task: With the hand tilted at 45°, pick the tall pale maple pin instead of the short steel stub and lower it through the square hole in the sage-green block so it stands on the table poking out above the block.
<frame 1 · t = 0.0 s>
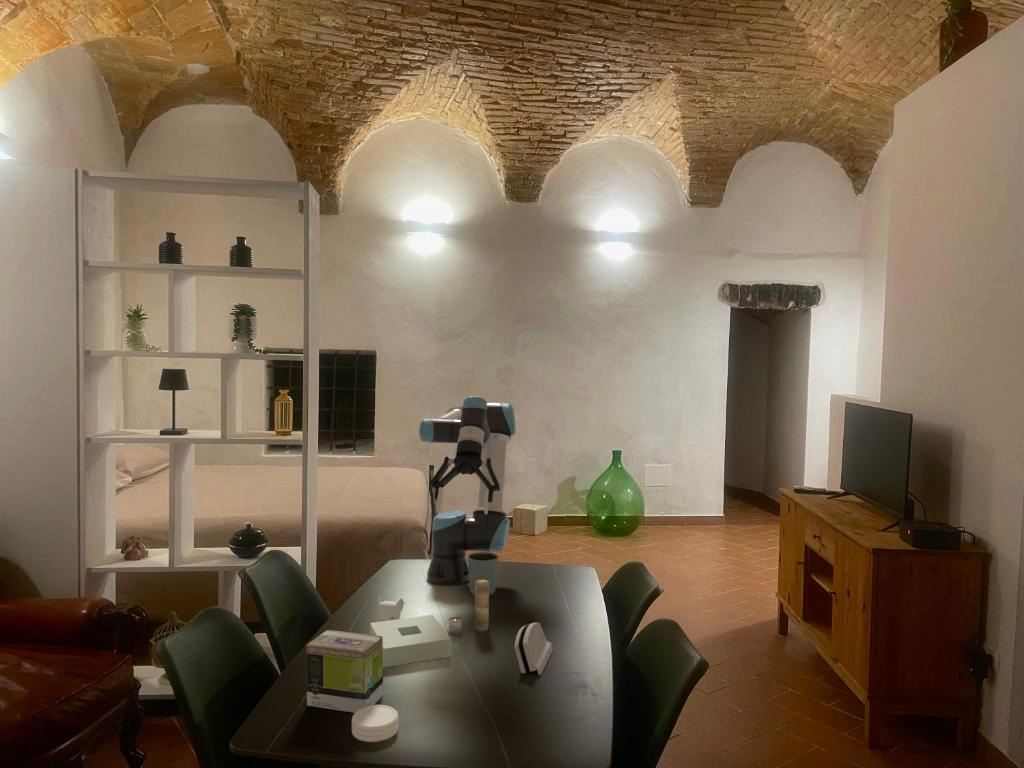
hand: (461, 511, 208), 36 cm above the table, tool tilted 35°, fingers open, 13 cm apart
grey blue cup: (482, 591, 248), on the table
tea box: (345, 702, 173), on the table
magnetic window cleaner: (533, 661, 196), on the table
elephant figurine: (389, 622, 221), on the table
coaster: (375, 731, 160), on the table
sage block: (409, 648, 202), on the table
maple pin: (481, 629, 216), on the table
steel stub: (455, 632, 213), on the table
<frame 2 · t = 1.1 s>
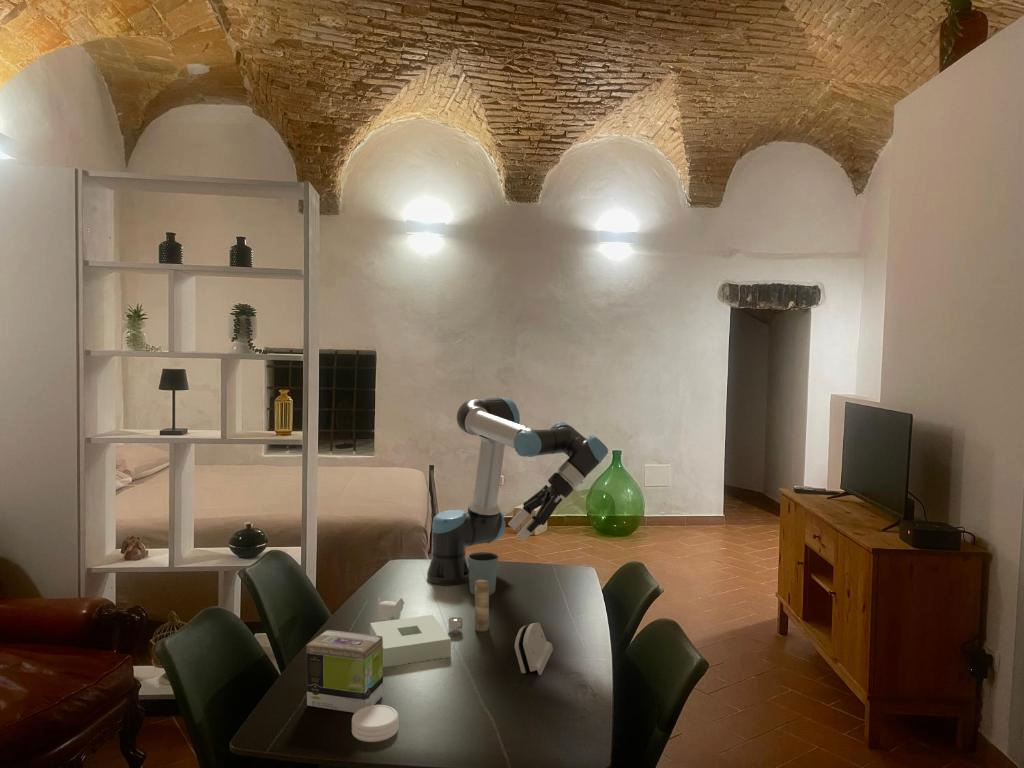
hand: (515, 532, 216), 28 cm above the table, tool tilted 45°, fingers open, 13 cm apart
nothing on the table moved.
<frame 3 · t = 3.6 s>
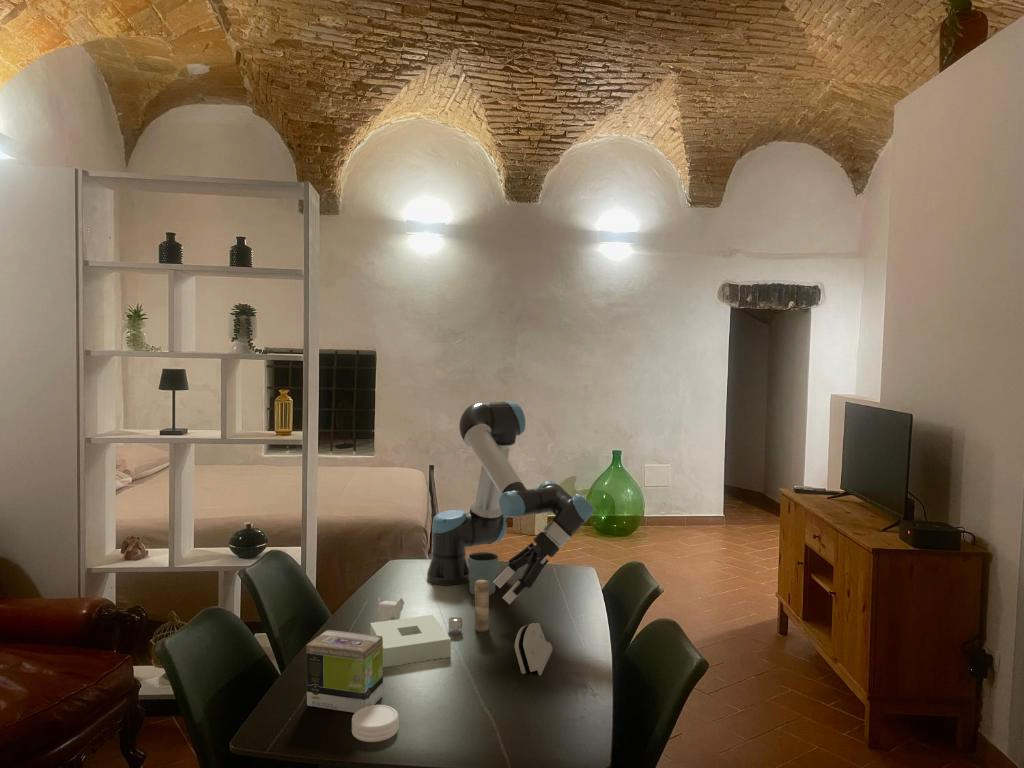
hand: (500, 592, 215), 11 cm above the table, tool tilted 45°, fingers open, 13 cm apart
nothing on the table moved.
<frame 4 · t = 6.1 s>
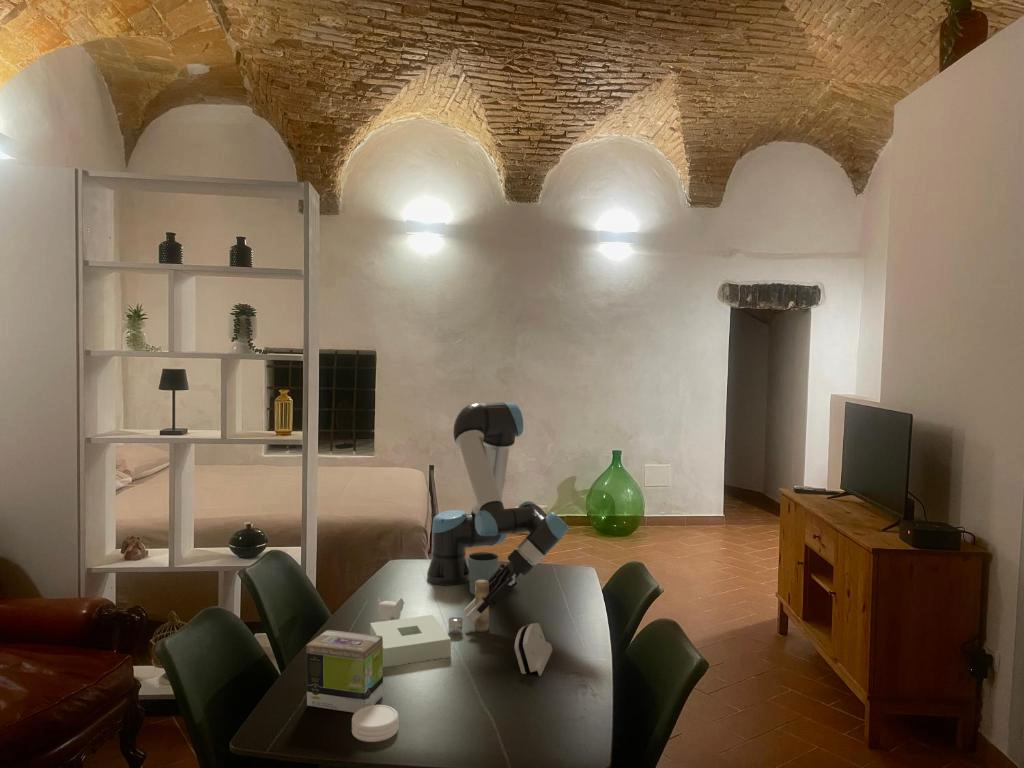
hand: (468, 615, 215), 4 cm above the table, tool tilted 45°, fingers closed on maple pin, 4 cm apart
maple pin: (481, 629, 216), on the table, touching gripper
everything else where it was.
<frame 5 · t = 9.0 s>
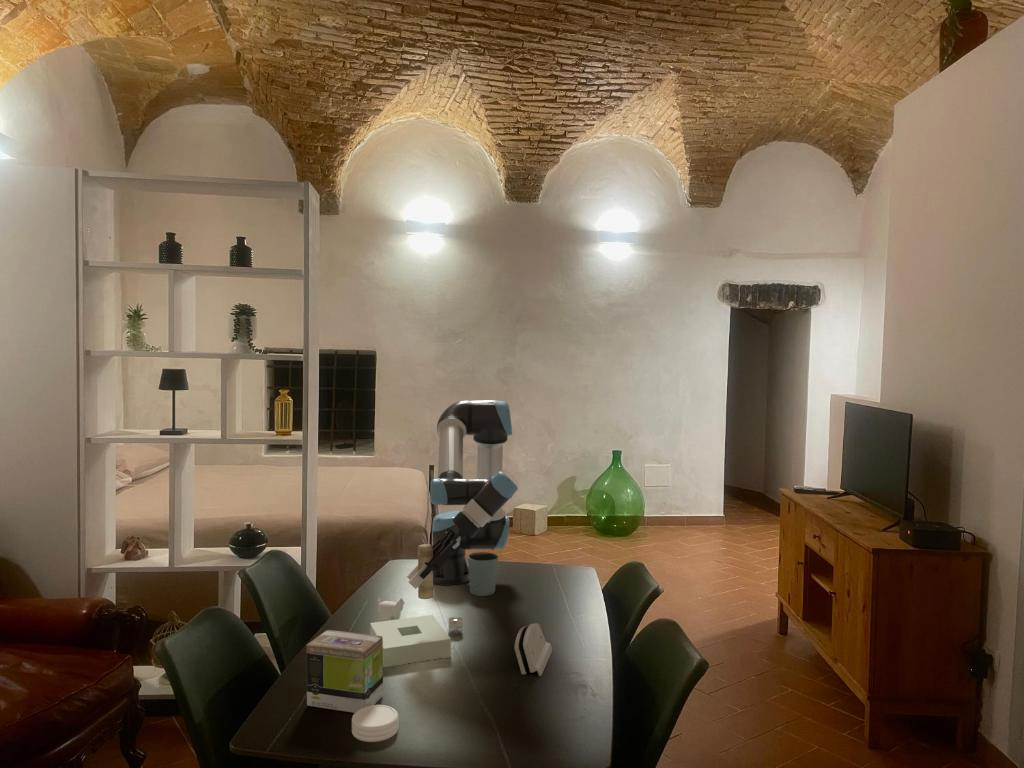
hand: (411, 582, 201), 18 cm above the table, tool tilted 45°, fingers closed on maple pin, 4 cm apart
maple pin: (425, 596, 202), point 14 cm above the table, touching gripper
everything else where it was.
when the fingers open (7 cm above the table, at t = 12.2 s): maple pin drops 3 cm, resting in sage block.
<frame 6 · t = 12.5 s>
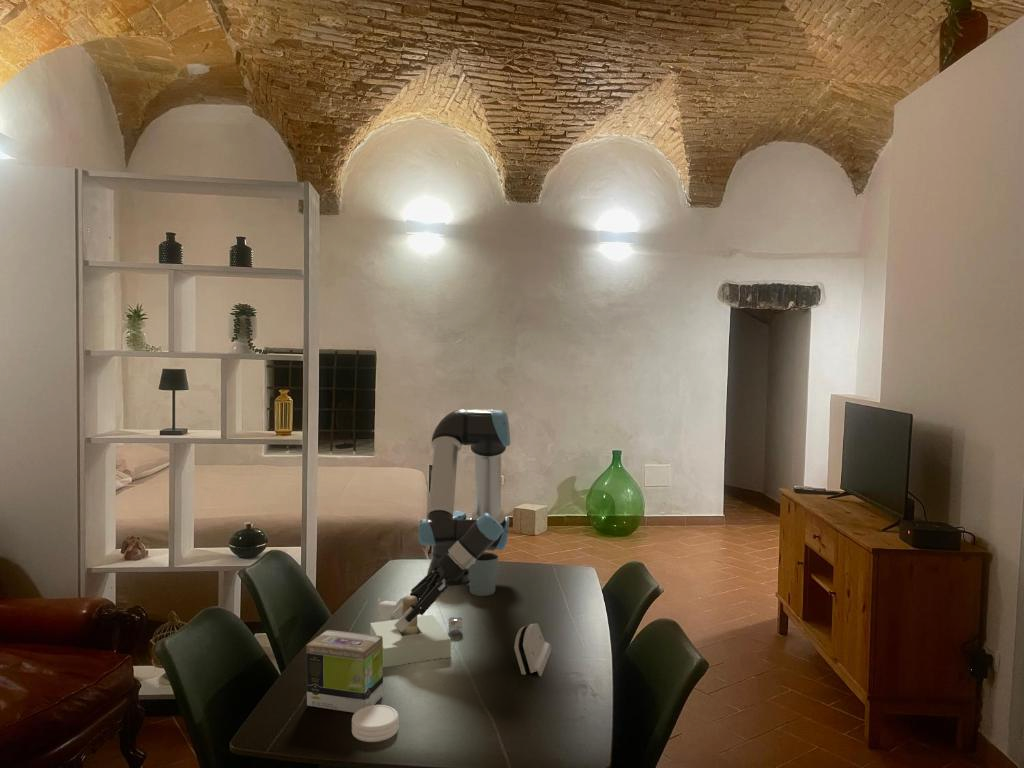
hand: (397, 622, 200), 8 cm above the table, tool tilted 45°, fingers open, 8 cm apart
maple pin: (409, 648, 202), resting in sage block
everything else where it was.
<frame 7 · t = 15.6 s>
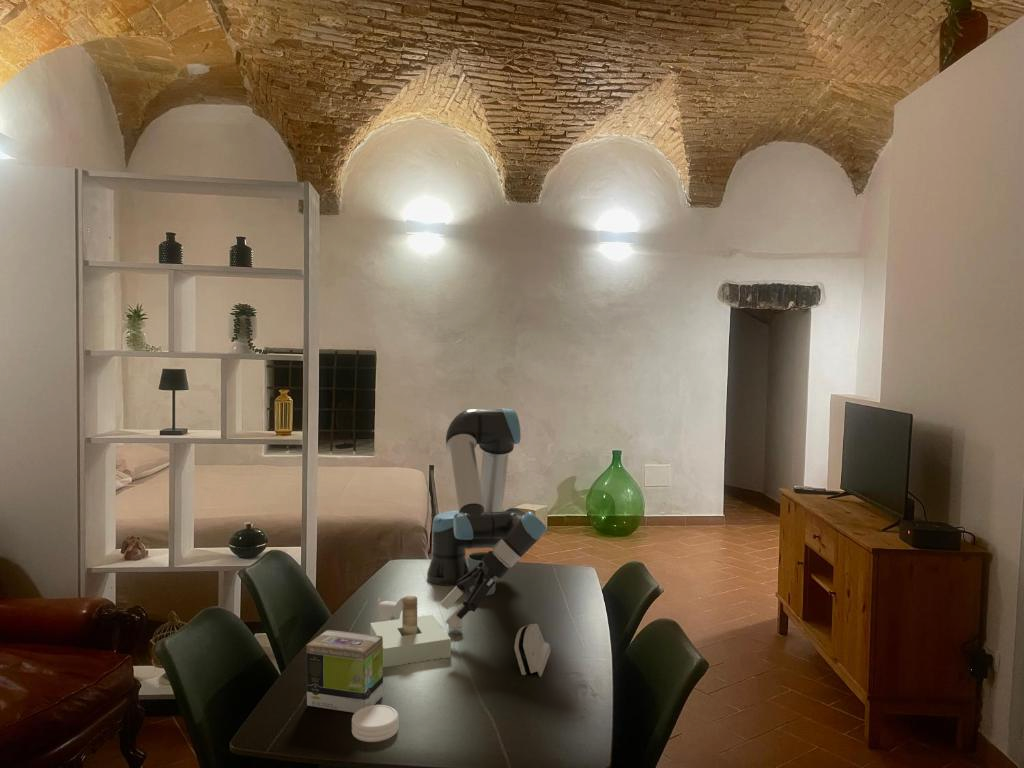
hand: (446, 615, 203), 9 cm above the table, tool tilted 45°, fingers open, 13 cm apart
nothing on the table moved.
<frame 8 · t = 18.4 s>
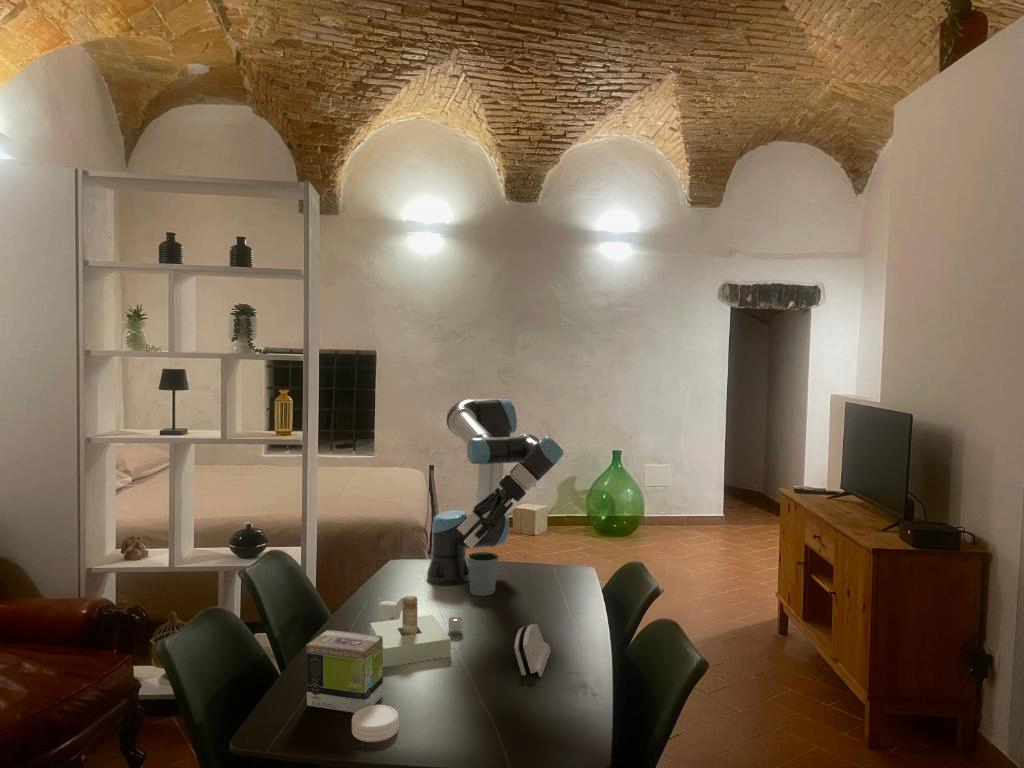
hand: (463, 538, 204), 30 cm above the table, tool tilted 45°, fingers open, 13 cm apart
at the end: maple pin 0.1 cm off-centre on the sage block, point 0.0 cm above the sage block's base; maple pin tilted 0°; steel stub moved 0.1 cm from its start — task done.
